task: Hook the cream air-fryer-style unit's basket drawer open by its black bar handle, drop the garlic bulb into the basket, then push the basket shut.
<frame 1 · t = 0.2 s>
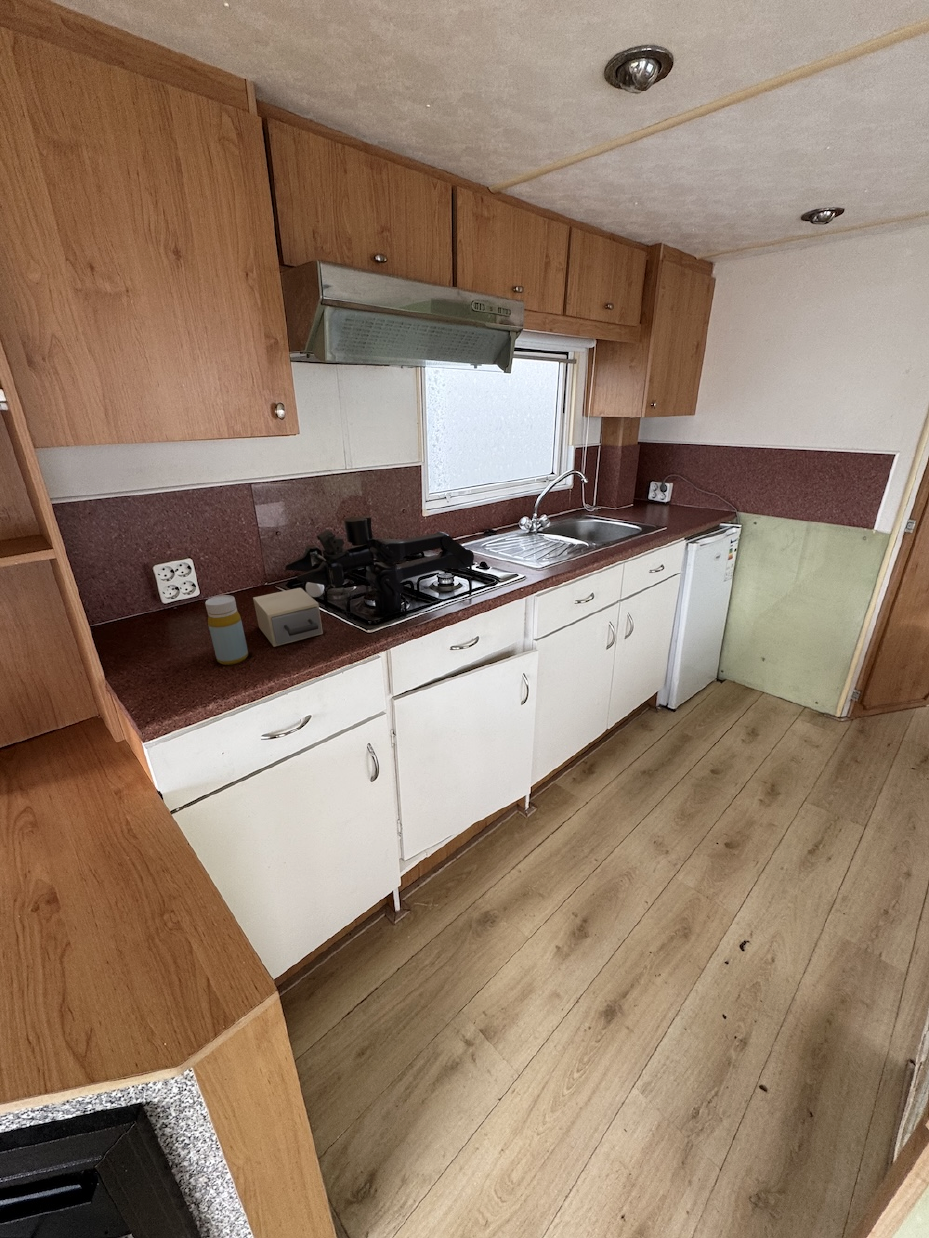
hand: (291, 573, 132), 17 cm above the counter, tool horizontal, fingers open, 9 cm apart
bottle: (233, 659, 127), on the counter
fryer: (290, 630, 141), on the counter
garlic bulb: (317, 595, 166), on the counter
basket: (292, 621, 136), point 4 cm above the counter, slide at 0.0 cm
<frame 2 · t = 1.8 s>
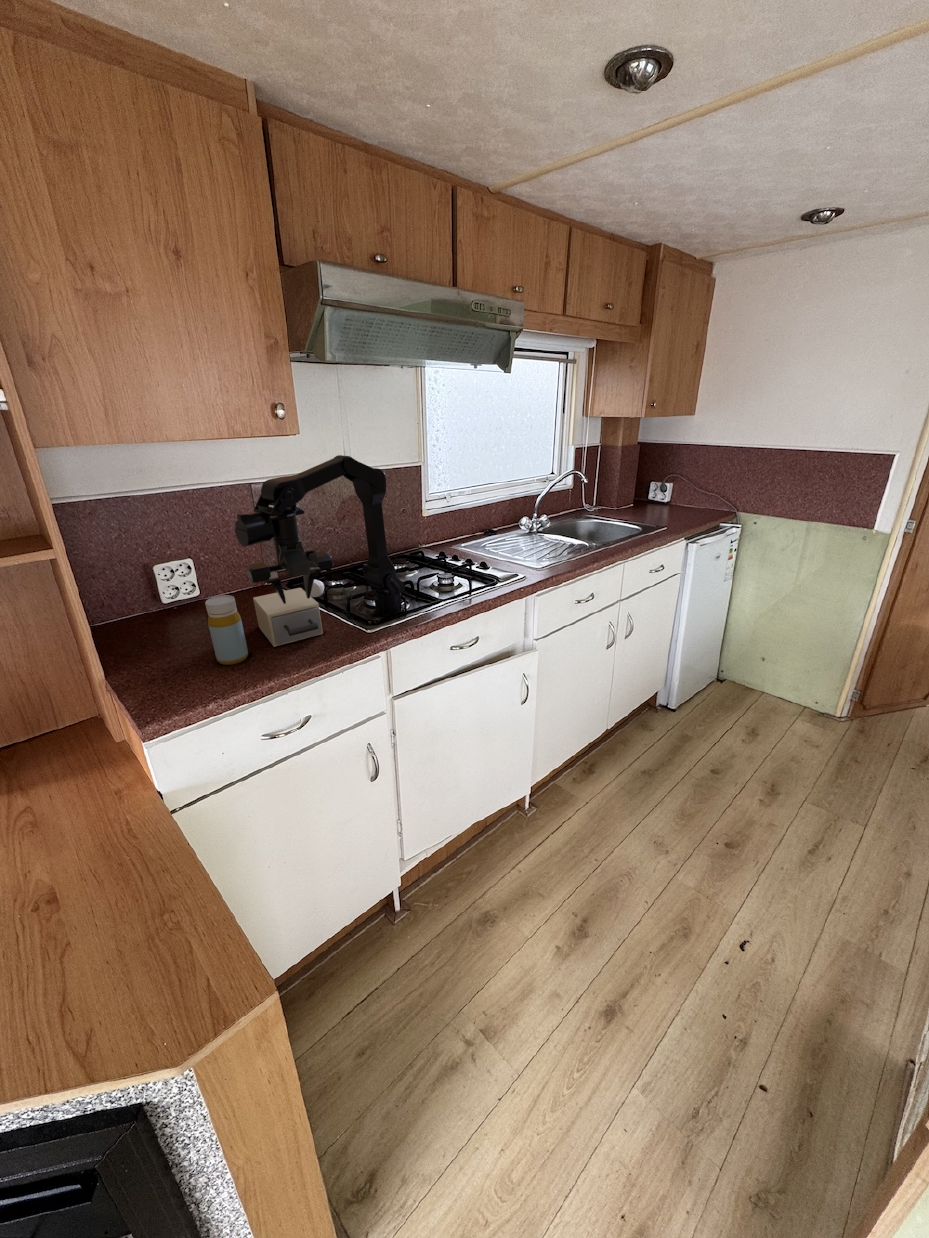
hand: (296, 600, 128), 12 cm above the counter, tool pointing down, fingers open, 5 cm apart
nothing on the counter moved.
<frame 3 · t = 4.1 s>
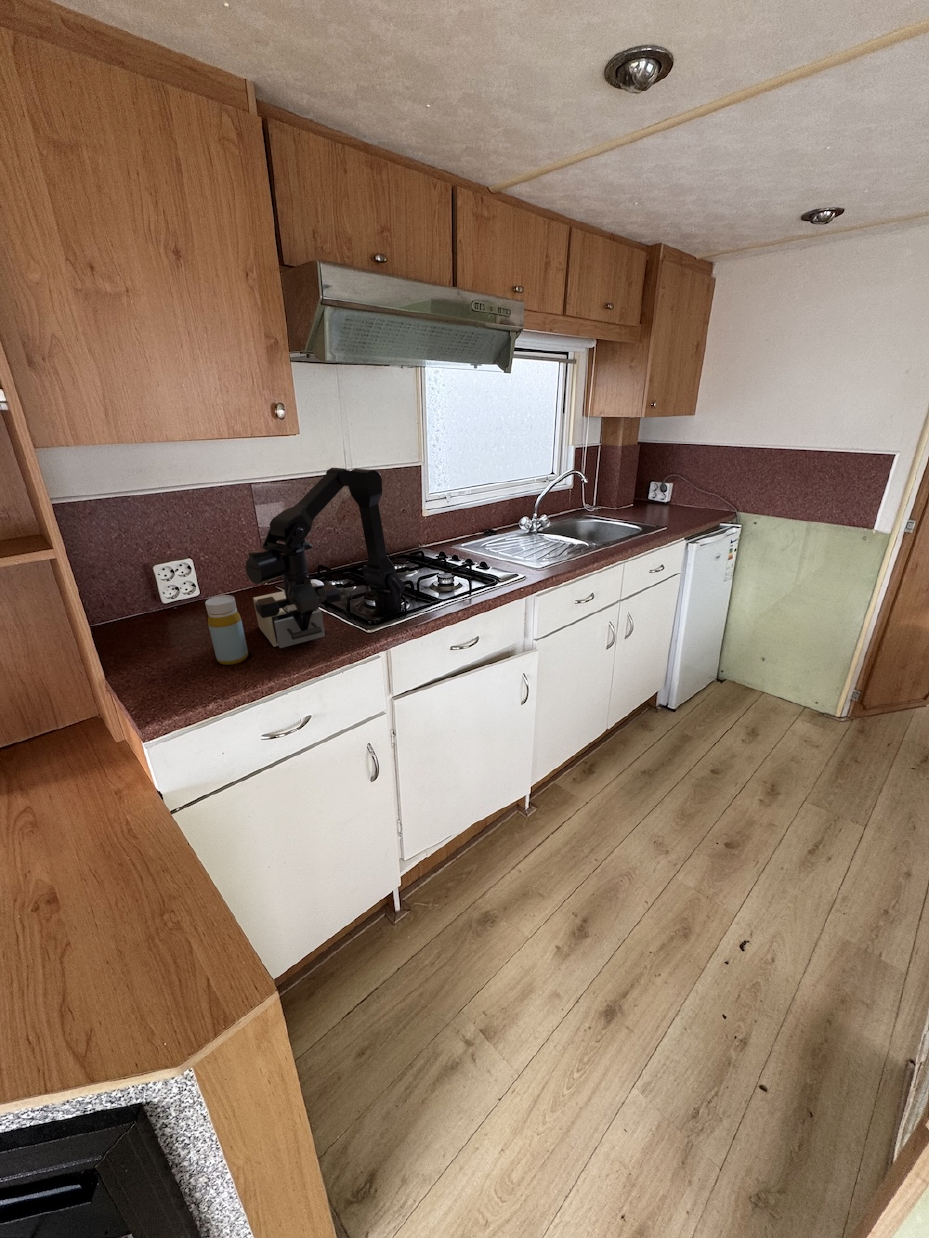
hand: (304, 633, 128), 4 cm above the counter, tool pointing down, fingers closed, pressing on basket
basket: (295, 624, 134), point 4 cm above the counter, slide at 2.5 cm, touching gripper
everything else where it was.
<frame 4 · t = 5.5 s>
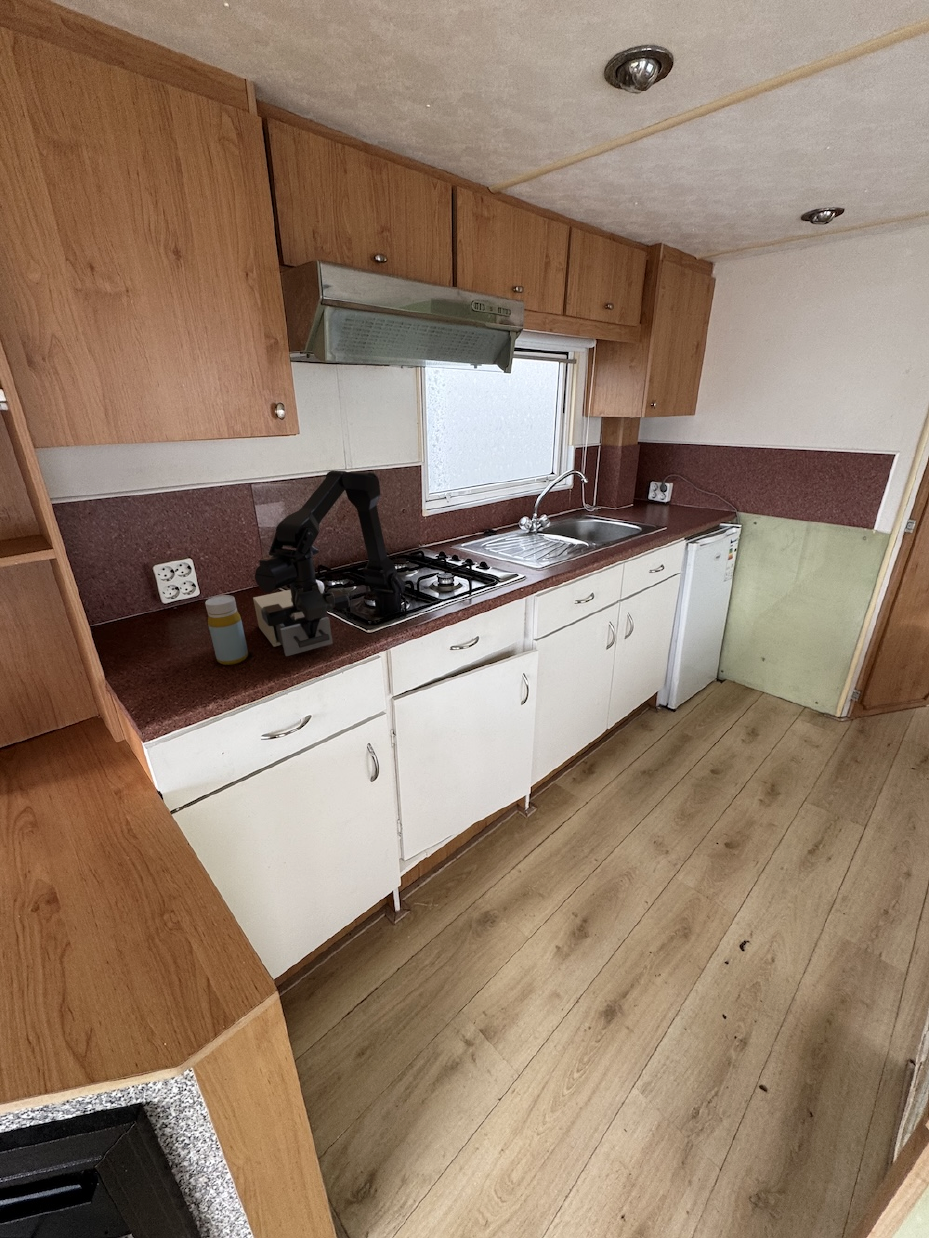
hand: (311, 641, 124), 4 cm above the counter, tool pointing down, fingers closed, pressing on basket
basket: (302, 631, 130), point 4 cm above the counter, slide at 7.7 cm, touching gripper
everything else where it was.
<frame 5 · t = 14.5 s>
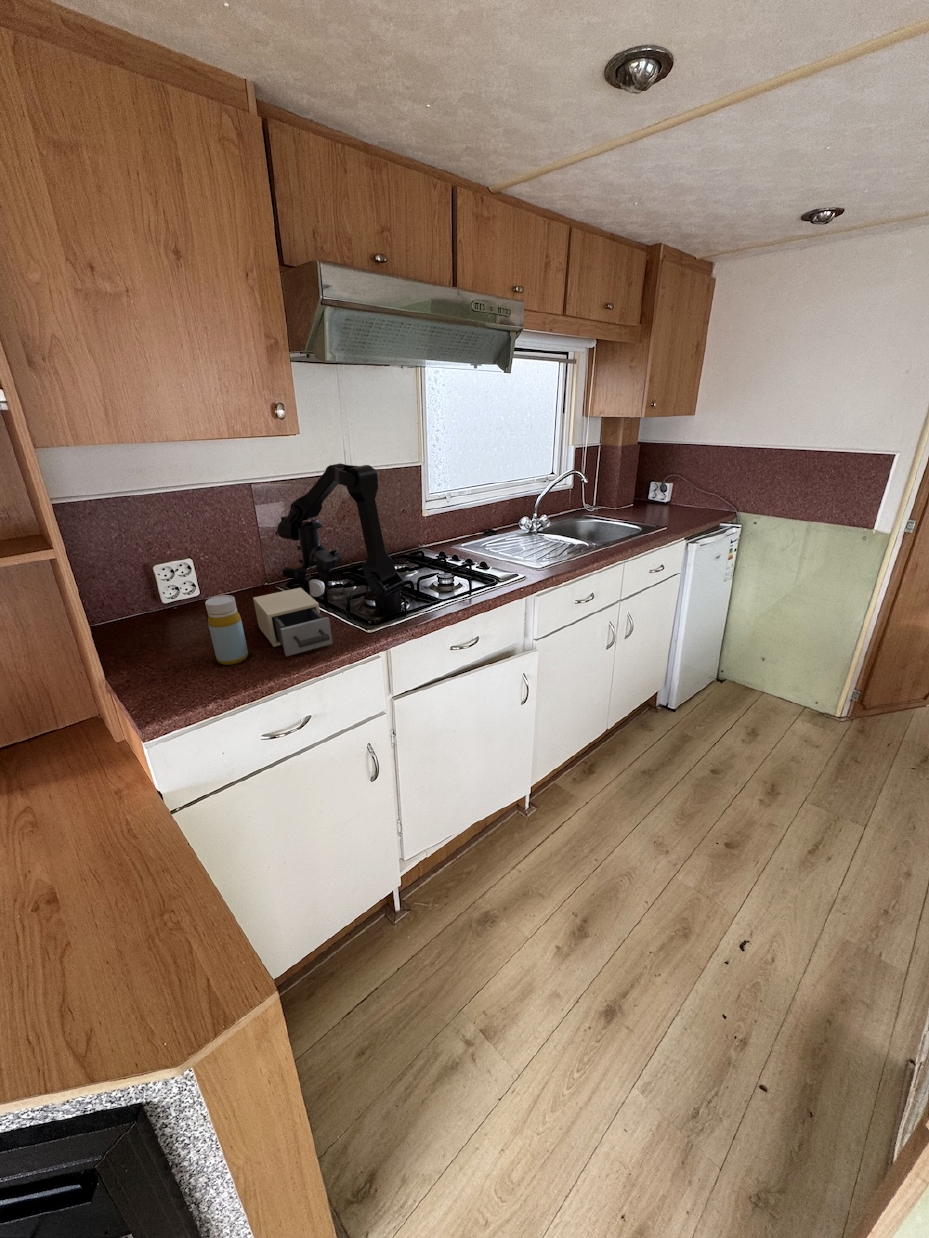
hand: (316, 591, 165), 1 cm above the counter, tool pointing down, fingers closed on garlic bulb, 6 cm apart
garlic bulb: (318, 595, 166), on the counter, touching gripper
basket: (302, 631, 130), point 4 cm above the counter, slide at 7.7 cm
everything else where it was.
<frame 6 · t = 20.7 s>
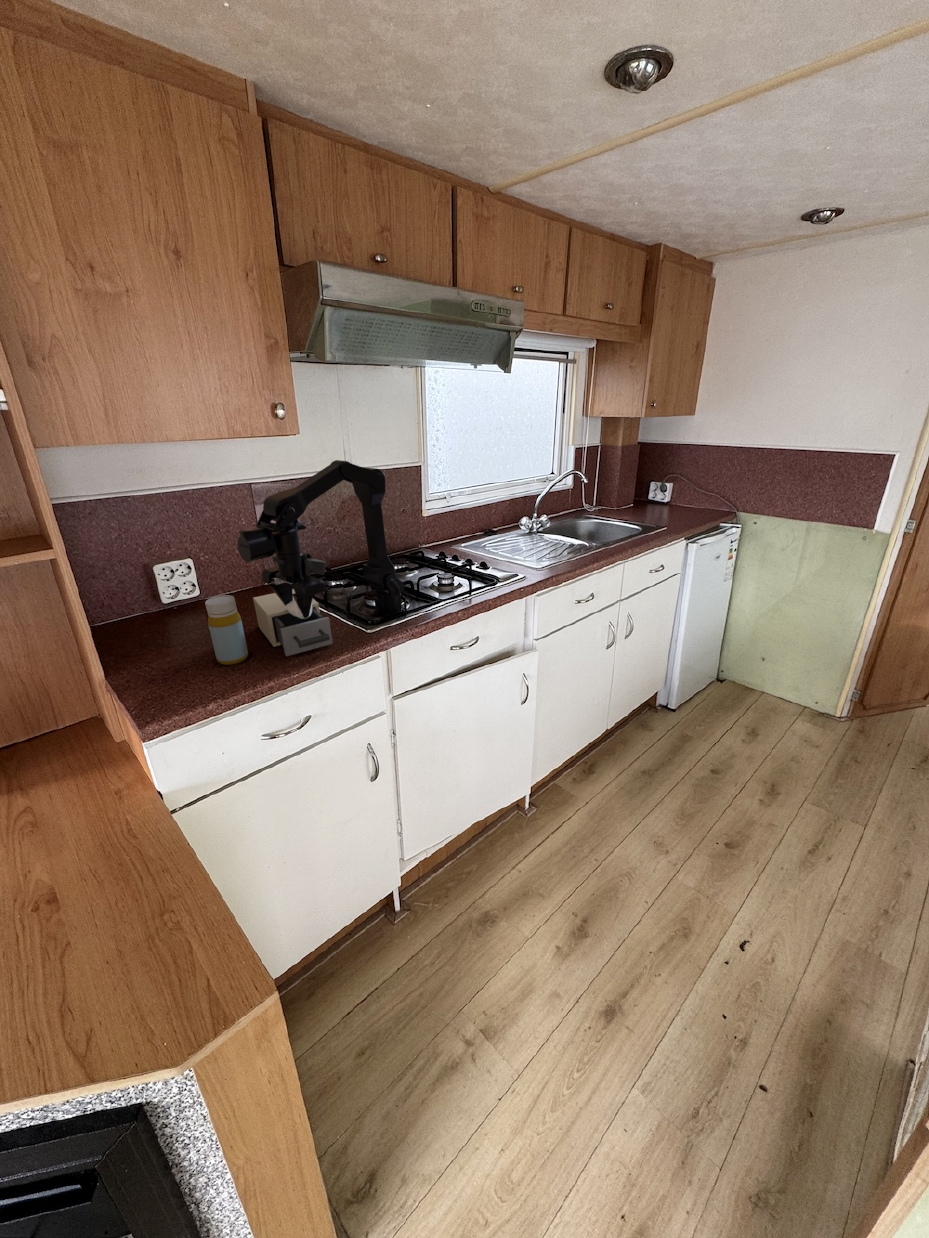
hand: (298, 613, 129), 9 cm above the counter, tool pointing down, fingers closed on garlic bulb, 6 cm apart
garlic bulb: (298, 618, 130), point 7 cm above the counter, touching gripper
everything else where it was.
when the fingers open (11 cm above the counter, at t = 36.3 s): garlic bulb drops 7 cm, resting on basket.
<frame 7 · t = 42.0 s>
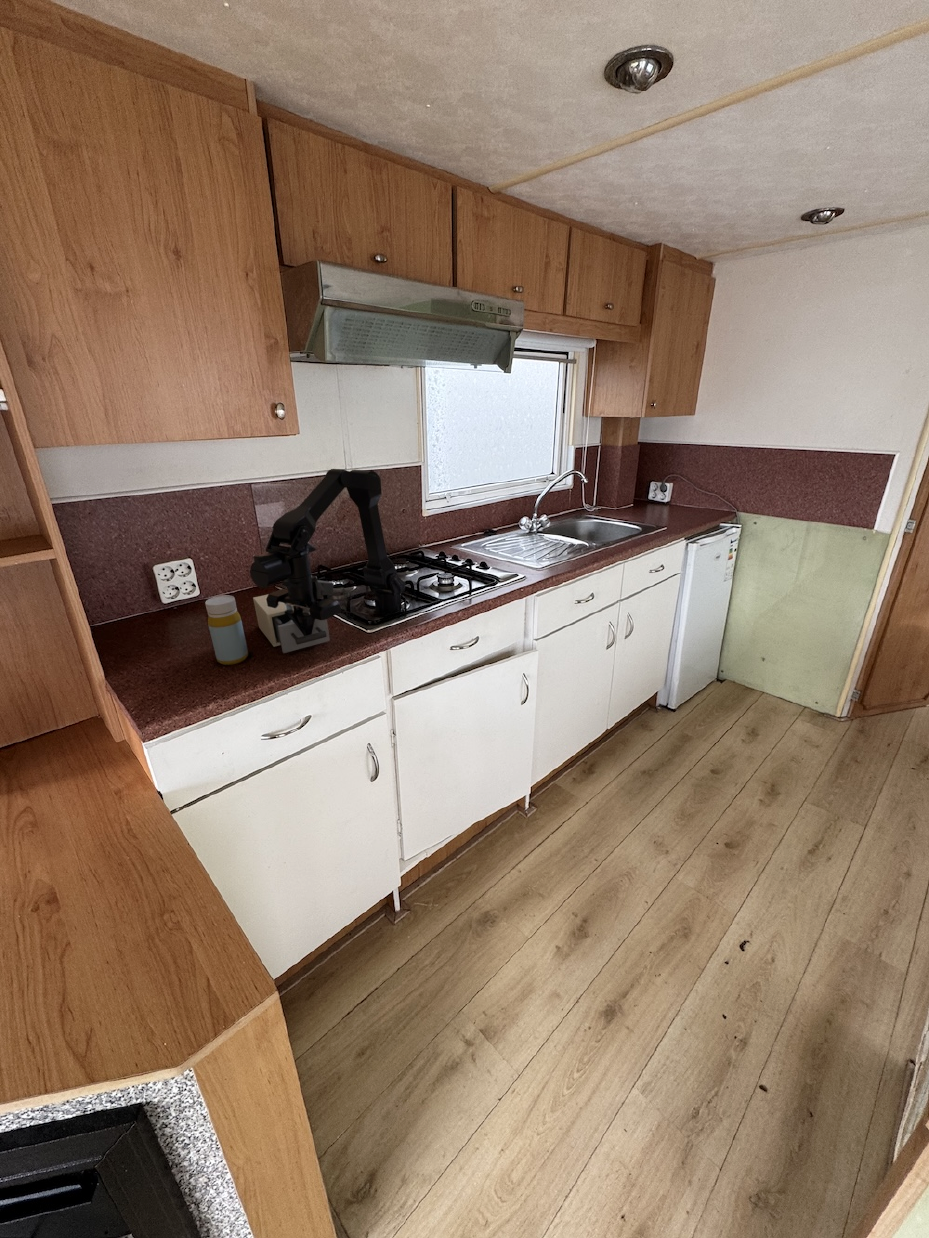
hand: (308, 637, 127), 4 cm above the counter, tool pointing down, fingers closed
garlic bulb: (297, 636, 134), point 2 cm above the counter, touching basket
basket: (300, 628, 132), point 4 cm above the counter, slide at 5.7 cm, touching garlic bulb, gripper
everything else where it was.
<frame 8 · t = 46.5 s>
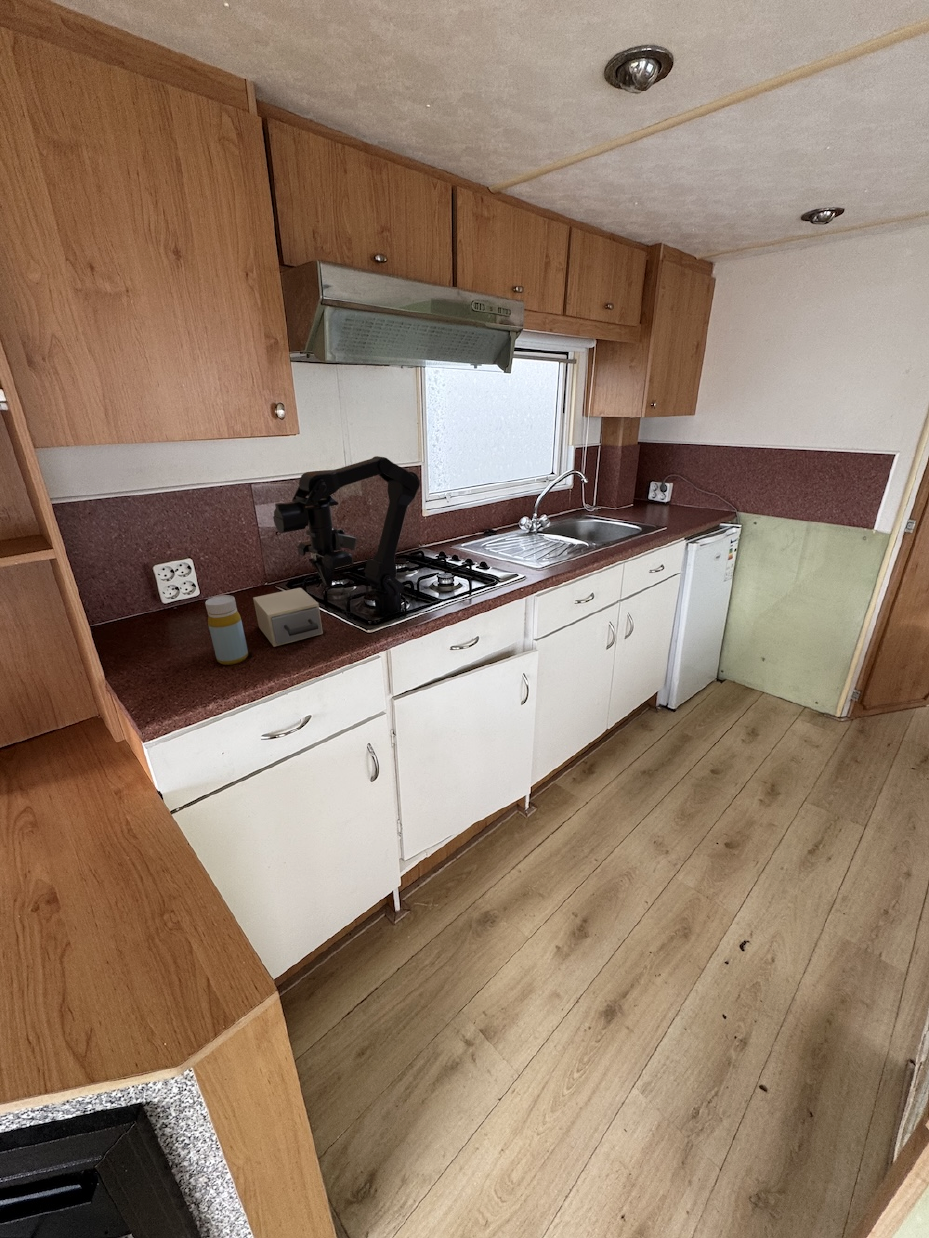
hand: (328, 586, 137), 12 cm above the counter, tool pointing down, fingers closed
garlic bulb: (290, 628, 138), point 2 cm above the counter, touching basket
basket: (292, 621, 136), point 4 cm above the counter, slide at 0.0 cm, touching garlic bulb
everything else where it was.
at the end: basket pulled out 8.0 cm at the most during the clip, back to where it started at the end; garlic bulb inside the target area in the fryer (2.8 cm from its centre), point 1.8 cm above the fryer's base; basket slide at 0.0 cm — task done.
